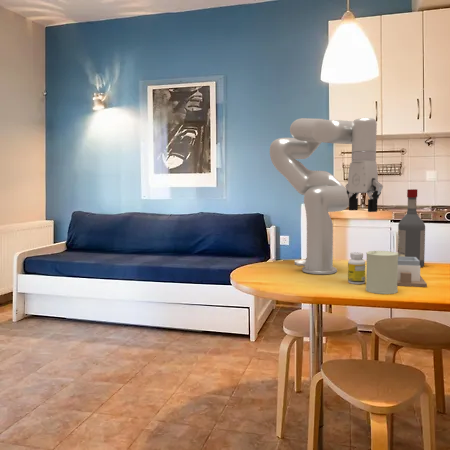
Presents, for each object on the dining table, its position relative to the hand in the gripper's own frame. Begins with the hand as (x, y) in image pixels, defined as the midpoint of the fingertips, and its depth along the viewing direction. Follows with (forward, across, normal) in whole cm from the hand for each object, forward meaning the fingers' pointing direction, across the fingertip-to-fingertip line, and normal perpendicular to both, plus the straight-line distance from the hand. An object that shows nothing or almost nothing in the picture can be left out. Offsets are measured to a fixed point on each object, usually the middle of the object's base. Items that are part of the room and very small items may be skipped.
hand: (362, 211), depth 145 cm
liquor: (+24, -18, +37) cm, 47 cm away
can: (+24, +12, -2) cm, 27 cm away
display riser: (+24, +4, +14) cm, 28 cm away
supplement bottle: (+24, 0, -2) cm, 24 cm away
